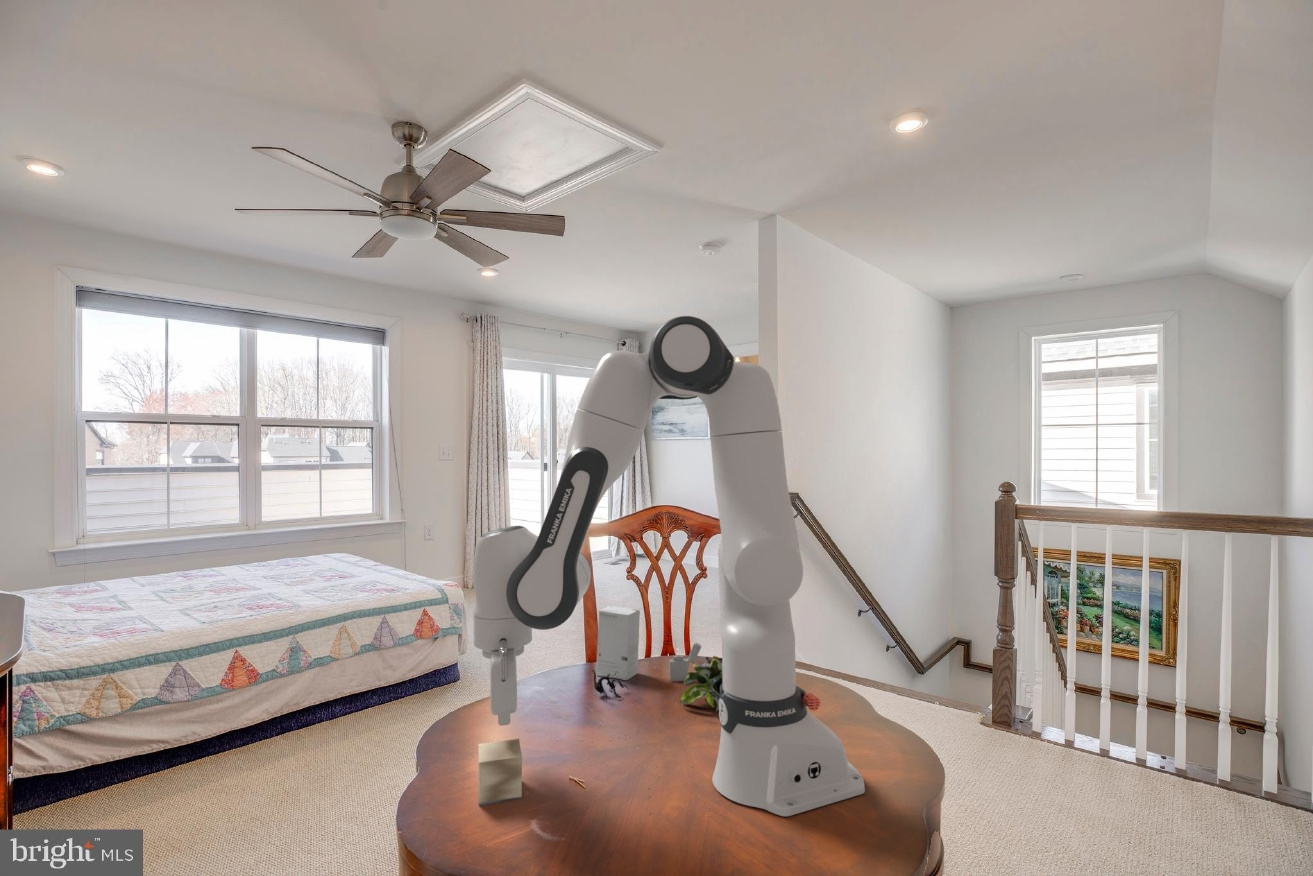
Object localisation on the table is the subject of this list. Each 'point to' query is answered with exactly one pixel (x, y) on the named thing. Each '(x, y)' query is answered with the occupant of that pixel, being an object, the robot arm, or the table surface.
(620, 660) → the skincare box
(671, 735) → the table surface
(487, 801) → the maple cube
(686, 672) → the lighter
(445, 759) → the table surface
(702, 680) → the green leafy plant
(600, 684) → the creature
